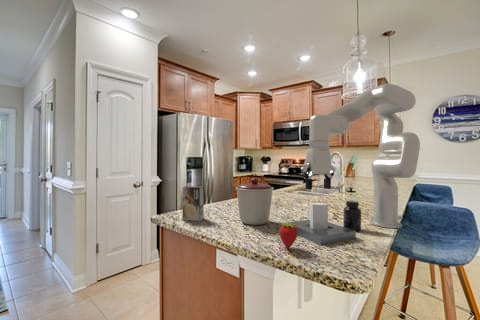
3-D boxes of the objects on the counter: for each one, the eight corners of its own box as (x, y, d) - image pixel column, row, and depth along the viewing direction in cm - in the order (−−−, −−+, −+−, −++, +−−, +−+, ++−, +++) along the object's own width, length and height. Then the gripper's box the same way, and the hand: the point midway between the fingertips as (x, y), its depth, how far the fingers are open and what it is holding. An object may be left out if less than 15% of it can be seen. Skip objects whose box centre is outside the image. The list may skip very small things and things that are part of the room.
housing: (317, 225, 106) (317, 218, 106) (355, 238, 88) (355, 230, 88) (285, 229, 98) (285, 222, 98) (320, 245, 80) (320, 236, 80)
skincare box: (324, 232, 95) (324, 202, 95) (328, 235, 91) (328, 204, 91) (309, 232, 95) (309, 202, 95) (312, 235, 91) (312, 204, 91)
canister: (238, 217, 120) (238, 176, 120) (273, 218, 118) (273, 177, 118) (232, 226, 102) (232, 178, 102) (273, 228, 100) (274, 179, 100)
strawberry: (296, 245, 80) (296, 216, 80) (298, 253, 72) (298, 221, 72) (279, 244, 81) (279, 215, 81) (278, 252, 73) (279, 220, 74)
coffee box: (204, 218, 117) (204, 186, 117) (199, 221, 111) (200, 187, 111) (186, 217, 118) (187, 185, 119) (181, 220, 112) (182, 187, 112)
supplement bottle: (363, 232, 96) (363, 203, 96) (345, 231, 97) (345, 202, 97) (358, 227, 102) (358, 200, 102) (341, 226, 104) (341, 199, 104)
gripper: (327, 147, 100) (327, 187, 100) (295, 145, 93) (294, 188, 93) (342, 146, 93) (341, 189, 93) (308, 144, 86) (307, 190, 86)
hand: (318, 188), depth 93 cm, fingers open, 9 cm apart
